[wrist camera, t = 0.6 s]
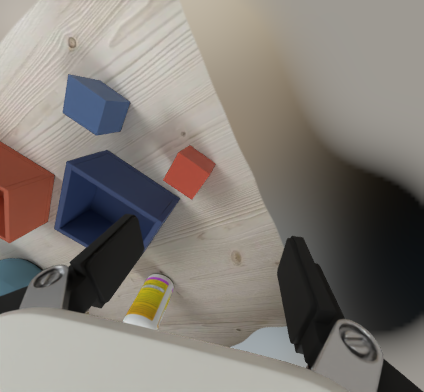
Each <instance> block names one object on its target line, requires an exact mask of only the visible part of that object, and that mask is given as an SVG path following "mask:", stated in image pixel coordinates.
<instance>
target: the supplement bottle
mask: <svg viewBox="0 0 424 392" xmlns="http://www.w3.org/2000/svg"><path fill="white" fill-rule="evenodd" d="M173 289H174V285H173V283H172V281H171V280H170V279H169V278H168V277H166V276H164V275H161V274H152V275H150V276H149V277H148V278H147V280H146V281H145V283H144V285H143V286H142V288H141V290H140V292H139V293H138V295H137V297H136V299H135V300H134V302H133V304H132V306H131V307H130V309H129V311H128V312H127V314H126V316H125V318H124V320H123V322H124V323H128V324H133V325H137V326H141V327H145V328H150V329H154V330H158V327H159V325H160V322H161V320H162V317H163V315H164V312H165V310H166V307H167V305H168V302H169V300H170V297H171V295H172V292H173Z"/></svg>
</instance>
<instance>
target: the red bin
mask: <svg viewBox="0 0 424 392" xmlns="http://www.w3.org/2000/svg"><path fill="white" fill-rule="evenodd" d="M54 176H55V175H54V174H52V173H50V172H49V171H47V170H46V169H44V168H42V167H41V166H39V165H37V164H36V163H34V162H33V161H31V160H29V159H28V158H26V157H25V156H23V155H21V154H20V153H18V152H16V151H15V150H13V149H12V148H10V147H8V146H7V145H5V144H4V143H2V142H0V238H1V239H3V240H5V241H7V242H8V243H11V242H13V241H14V240H16V239H18V238H20V237H22V236H23V235H25V234H27V233H29V232H30V231H32V230H34V229H36V228H37V227H39V226H41V225H43V224H45V223H46V222H48V216H49V210H50V203H51V196H52V190H53V183H54Z"/></svg>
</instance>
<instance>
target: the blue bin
mask: <svg viewBox="0 0 424 392" xmlns="http://www.w3.org/2000/svg"><path fill="white" fill-rule="evenodd" d="M179 200H180V198H178V197H177V196H175V195H174V194H172V193H171V192H169V191H168V190H166V189H165V188H164V187H162V186H161V185H159V184H158V183H156V182H155V181H153V180H152V179H150V178H149V177H147V176H146V175H144V174H143V173H141V172H140V171H138V170H137V169H135V168H134V167H132V166H131V165H129V164H128V163H126V162H125V161H123V160H122V159H120V158H119V157H117V156H116V155H114V154H113V153H111V152H110V151H108V150H105V151H101V152H98V153H94V154H91V155H87V156H84V157H80V158H77V159H73V160H70V161H67V162H66V167H65V173H64V178H63V184H62V189H61V195H60V200H59V205H58V211H57V216H56V222H55V227H54V229H55V230H57V231H58V232H60V233H62V234H64V235H66V236H67V237H69V238H71V239H73V240H74V241H76V242H78V243H79V244H81V245H83V246H85V247H86V248H87V247H88V246H89V245H90V244H91V243H92V242H94V241H95V240H96V239H97V238H98V237H99V236H100V235H102V234H103V233H104V232H105V231H106V230H107V229H108V228H110V227H111V226H112V225H113V224H114V223H115V222H116V221H118V220H119V219H120V218H121V217H122V216H123V215H125V214H131V215H135V216H136V217H137V218H138V220H139V225H140V229H141V234H142V239H143V244H144V251H145V250H146V249H147V247H148V246H149V244H150V243H151V241H152V240H153V238H154V237H155V235H156V234H157V232H158V231H159V229H160V228H161V227H162V225H163V224H164V222H165V221H166V219H167V218H168V216H169V215H170V213H171V212H172V210H173V209H174V207H175V206H176V204H177V203H178V201H179ZM143 253H144V252H143ZM141 256H142V255H141ZM136 263H137V262H136ZM131 270H132V269H131Z"/></svg>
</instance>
